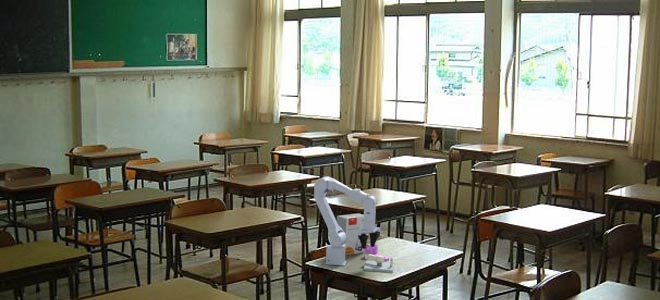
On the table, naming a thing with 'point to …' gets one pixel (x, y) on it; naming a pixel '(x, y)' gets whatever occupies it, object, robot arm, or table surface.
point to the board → (379, 266)
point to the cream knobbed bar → (375, 258)
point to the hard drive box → (352, 232)
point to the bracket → (374, 251)
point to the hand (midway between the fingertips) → (368, 247)
